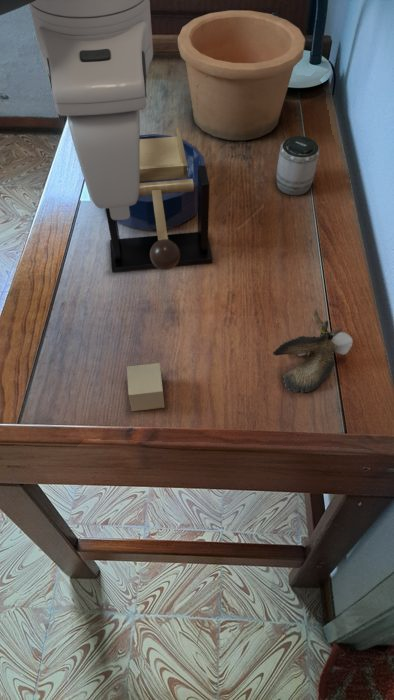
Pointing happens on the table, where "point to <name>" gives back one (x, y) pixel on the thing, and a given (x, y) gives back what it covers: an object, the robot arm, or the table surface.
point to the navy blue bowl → (168, 196)
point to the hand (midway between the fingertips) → (117, 183)
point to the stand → (191, 245)
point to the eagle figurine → (313, 356)
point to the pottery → (239, 70)
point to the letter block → (145, 387)
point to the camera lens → (297, 165)
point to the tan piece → (163, 188)
